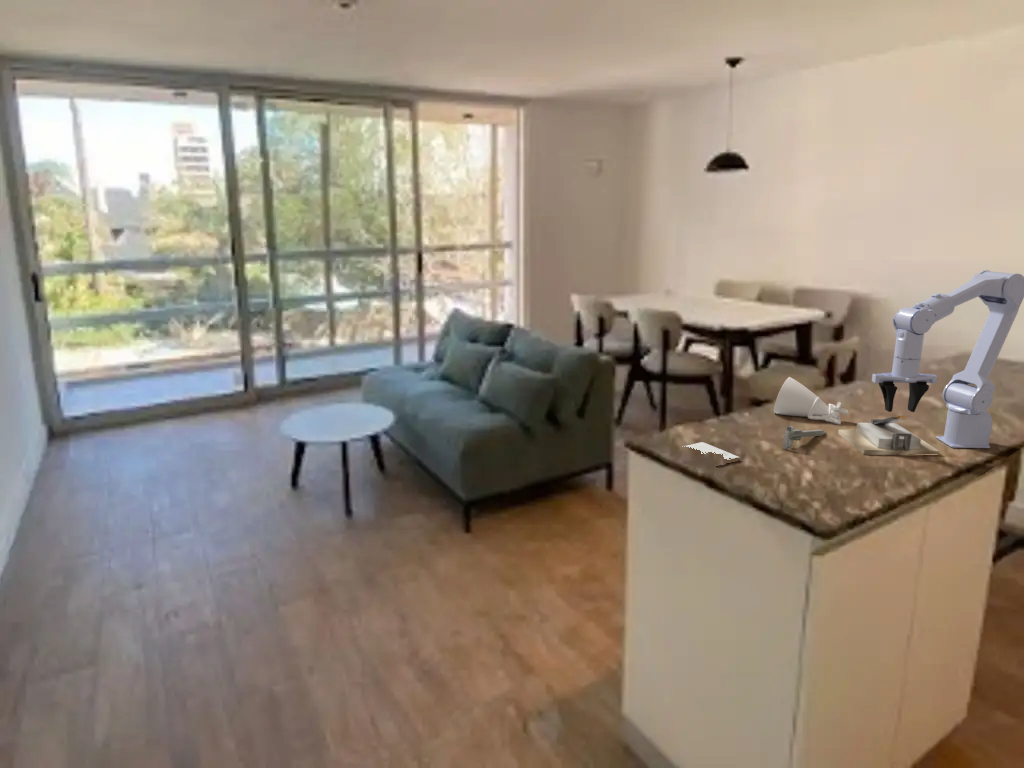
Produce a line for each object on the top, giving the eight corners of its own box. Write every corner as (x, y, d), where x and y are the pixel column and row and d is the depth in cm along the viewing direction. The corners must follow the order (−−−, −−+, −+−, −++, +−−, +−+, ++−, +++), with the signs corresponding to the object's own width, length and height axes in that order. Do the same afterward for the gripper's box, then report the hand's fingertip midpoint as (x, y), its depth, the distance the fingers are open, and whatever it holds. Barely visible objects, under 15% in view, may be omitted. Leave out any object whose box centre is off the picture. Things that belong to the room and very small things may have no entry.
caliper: (786, 451, 175) (788, 428, 174) (782, 450, 176) (784, 427, 175) (825, 434, 188) (828, 412, 186) (821, 433, 189) (824, 411, 187)
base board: (907, 434, 186) (910, 414, 185) (938, 455, 171) (942, 434, 169) (838, 433, 188) (840, 413, 186) (863, 454, 172) (866, 433, 171)
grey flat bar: (884, 424, 183) (884, 422, 183) (909, 418, 171) (908, 416, 171) (873, 424, 183) (873, 422, 183) (896, 418, 171) (896, 415, 171)
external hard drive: (703, 447, 180) (740, 462, 169) (679, 453, 176) (715, 468, 165) (703, 441, 179) (740, 456, 169) (679, 447, 175) (715, 462, 165)
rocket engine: (855, 391, 193) (791, 369, 202) (838, 423, 189) (774, 399, 198) (850, 413, 202) (789, 391, 211) (834, 444, 198) (773, 420, 208)
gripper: (883, 360, 165) (876, 415, 169) (947, 361, 164) (938, 415, 168) (871, 354, 172) (864, 406, 176) (931, 354, 171) (923, 407, 175)
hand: (899, 410), depth 172 cm, fingers open, 5 cm apart
